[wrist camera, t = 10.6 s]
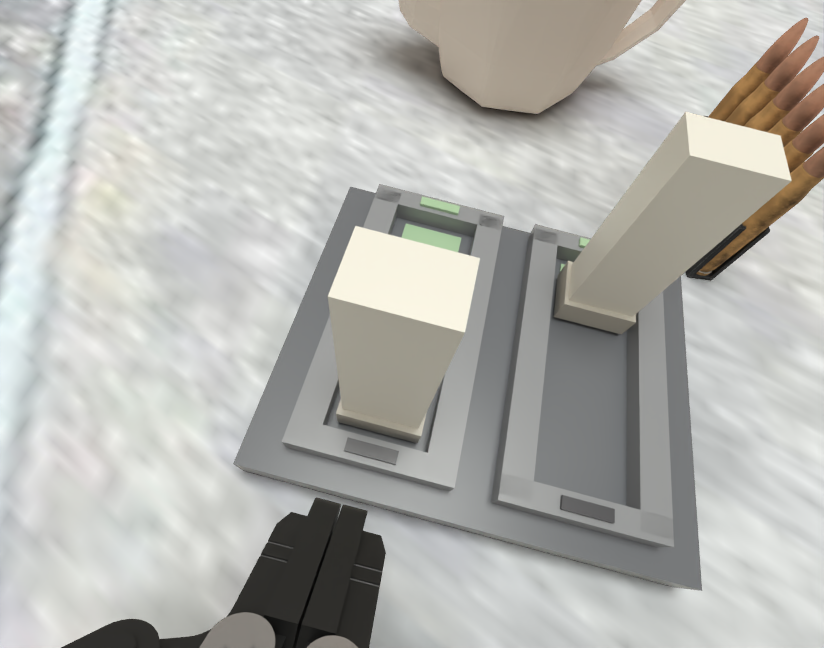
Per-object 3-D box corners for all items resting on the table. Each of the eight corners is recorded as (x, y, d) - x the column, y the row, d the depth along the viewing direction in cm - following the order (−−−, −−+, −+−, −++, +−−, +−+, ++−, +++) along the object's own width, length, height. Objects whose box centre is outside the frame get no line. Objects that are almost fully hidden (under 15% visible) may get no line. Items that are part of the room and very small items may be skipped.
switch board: (661, 288, 30) (695, 259, 27) (673, 587, 21) (724, 593, 18) (350, 207, 30) (350, 170, 27) (243, 470, 22) (224, 458, 19)
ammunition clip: (659, 168, 36) (786, 6, 25) (680, 171, 36) (816, 11, 25) (686, 277, 31) (859, 133, 20) (711, 280, 31) (897, 139, 20)
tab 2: (621, 291, 27) (784, 131, 16) (621, 334, 25) (798, 188, 15) (557, 275, 27) (679, 105, 16) (553, 316, 25) (684, 159, 15)
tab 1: (430, 386, 22) (489, 251, 12) (417, 443, 21) (470, 344, 11) (355, 366, 23) (351, 215, 12) (337, 422, 21) (316, 304, 11)
